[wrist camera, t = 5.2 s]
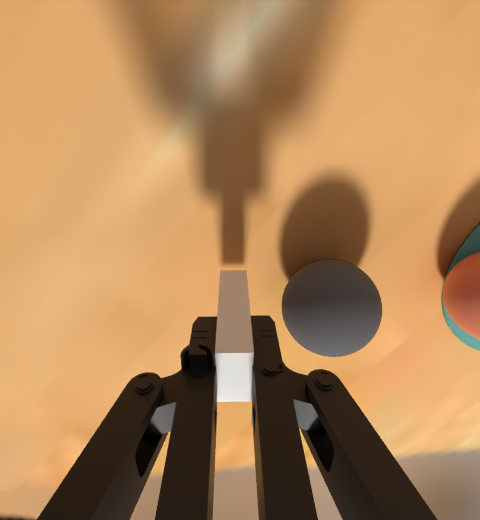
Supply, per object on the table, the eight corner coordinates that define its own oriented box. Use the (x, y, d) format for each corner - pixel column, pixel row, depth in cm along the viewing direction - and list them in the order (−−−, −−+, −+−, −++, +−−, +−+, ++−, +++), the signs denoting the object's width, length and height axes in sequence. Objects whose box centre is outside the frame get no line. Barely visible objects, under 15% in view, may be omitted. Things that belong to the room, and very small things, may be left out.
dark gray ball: (410, 309, 14) (385, 252, 18) (287, 285, 14) (293, 236, 19) (371, 388, 16) (358, 321, 21) (270, 365, 17) (279, 305, 22)
